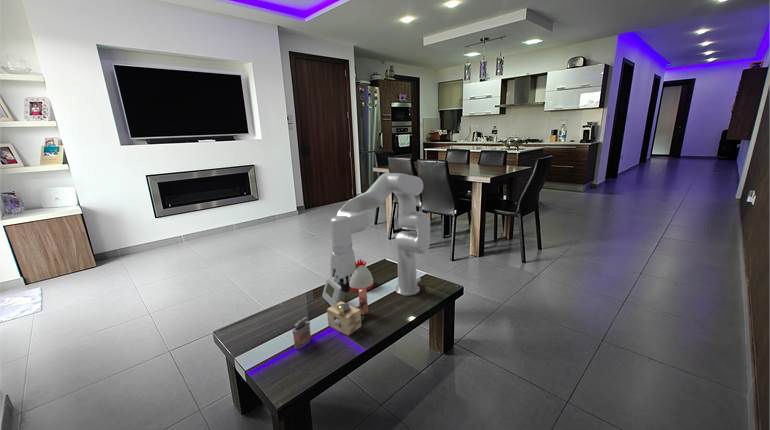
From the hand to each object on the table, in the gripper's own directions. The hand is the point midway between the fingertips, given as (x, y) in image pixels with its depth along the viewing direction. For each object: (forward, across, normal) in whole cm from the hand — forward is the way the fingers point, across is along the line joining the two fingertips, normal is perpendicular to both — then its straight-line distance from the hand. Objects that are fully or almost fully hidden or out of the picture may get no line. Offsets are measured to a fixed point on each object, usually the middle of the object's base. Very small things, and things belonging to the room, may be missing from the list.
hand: (345, 291), depth 128 cm
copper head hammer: (+18, -7, -4) cm, 20 cm away
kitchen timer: (+19, -36, -24) cm, 47 cm away
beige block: (+19, -3, -5) cm, 20 cm away
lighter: (+19, +15, -11) cm, 27 cm away
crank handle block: (+11, -1, -3) cm, 11 cm away
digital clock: (+19, -15, -23) cm, 34 cm away
